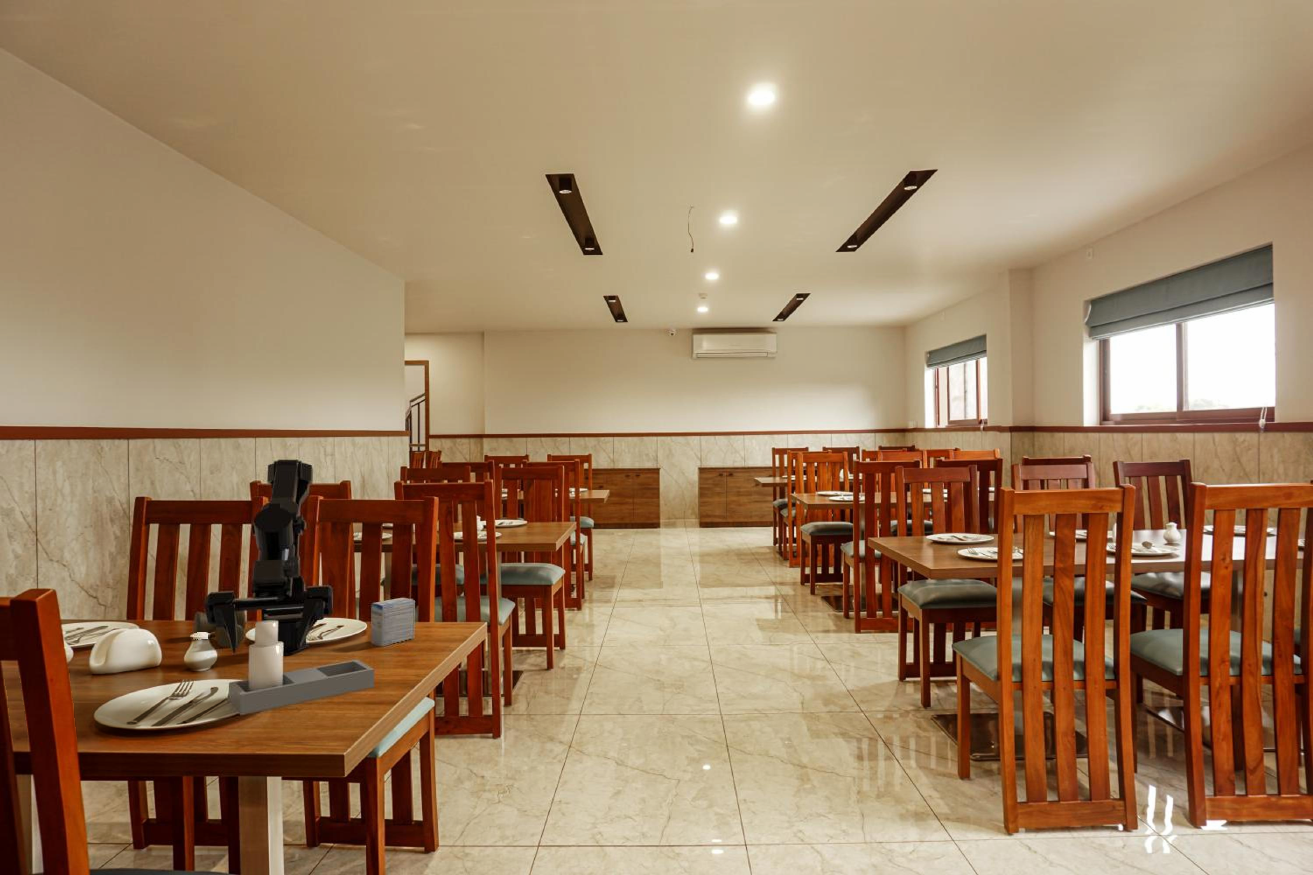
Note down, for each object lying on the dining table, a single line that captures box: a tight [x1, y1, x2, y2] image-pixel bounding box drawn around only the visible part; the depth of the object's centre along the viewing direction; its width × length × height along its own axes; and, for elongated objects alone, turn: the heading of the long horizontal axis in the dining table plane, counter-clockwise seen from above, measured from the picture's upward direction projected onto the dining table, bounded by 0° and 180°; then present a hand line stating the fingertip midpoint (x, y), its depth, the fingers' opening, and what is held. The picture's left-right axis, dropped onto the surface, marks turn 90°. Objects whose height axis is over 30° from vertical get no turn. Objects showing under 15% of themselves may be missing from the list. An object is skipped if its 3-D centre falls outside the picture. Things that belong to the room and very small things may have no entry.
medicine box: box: [370, 597, 416, 647], centre depth 156 cm, size 8×4×9 cm, turn 144°
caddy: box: [228, 659, 375, 716], centre depth 119 cm, size 8×20×4 cm, turn 132°
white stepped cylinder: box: [248, 620, 284, 692], centre depth 115 cm, size 5×5×12 cm
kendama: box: [193, 611, 247, 649], centre depth 158 cm, size 6×10×20 cm
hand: (267, 648), depth 116 cm, fingers open, 9 cm apart
